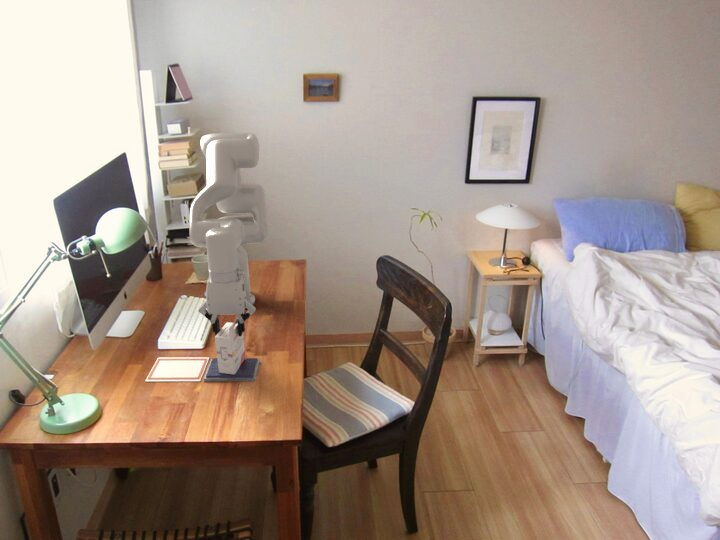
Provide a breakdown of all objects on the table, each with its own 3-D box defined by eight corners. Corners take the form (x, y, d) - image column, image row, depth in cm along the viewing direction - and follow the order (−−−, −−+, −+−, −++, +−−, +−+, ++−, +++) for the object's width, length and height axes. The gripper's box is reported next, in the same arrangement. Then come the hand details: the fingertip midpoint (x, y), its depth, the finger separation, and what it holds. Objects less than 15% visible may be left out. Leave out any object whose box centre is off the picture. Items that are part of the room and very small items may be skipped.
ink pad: (211, 361, 164) (211, 357, 164) (259, 361, 165) (259, 357, 164) (203, 381, 155) (203, 376, 155) (255, 381, 156) (254, 376, 155)
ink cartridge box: (229, 356, 164) (225, 311, 158) (246, 358, 163) (242, 313, 157) (217, 373, 156) (212, 327, 150) (234, 375, 156) (230, 329, 149)
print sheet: (158, 358, 166) (157, 357, 166) (209, 357, 166) (209, 356, 166) (144, 381, 155) (144, 380, 155) (200, 381, 155) (200, 380, 155)
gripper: (258, 268, 152) (262, 327, 159) (194, 268, 151) (200, 327, 159) (254, 280, 145) (258, 341, 152) (187, 280, 144) (194, 341, 152)
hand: (229, 333), depth 155 cm, fingers closed on ink cartridge box, 5 cm apart
